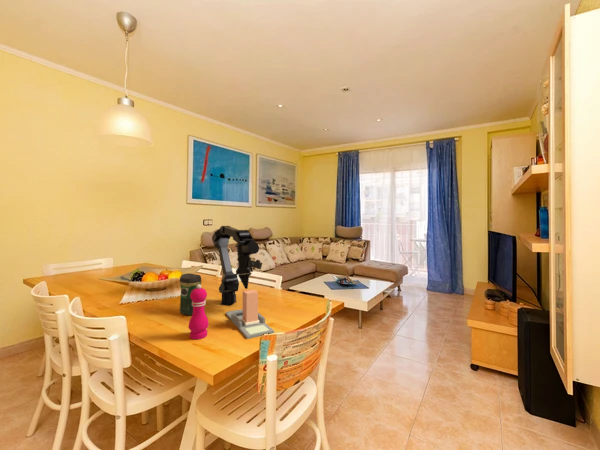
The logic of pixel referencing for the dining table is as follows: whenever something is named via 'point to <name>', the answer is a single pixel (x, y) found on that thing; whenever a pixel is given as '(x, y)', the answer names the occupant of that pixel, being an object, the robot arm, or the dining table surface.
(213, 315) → the dining table surface
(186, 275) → the coffee jar
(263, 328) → the track
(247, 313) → the salmon pink tall box
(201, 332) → the pepper mill
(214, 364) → the dining table surface
